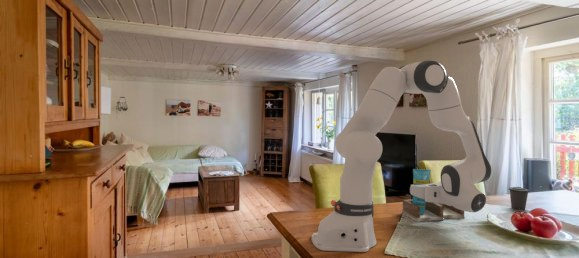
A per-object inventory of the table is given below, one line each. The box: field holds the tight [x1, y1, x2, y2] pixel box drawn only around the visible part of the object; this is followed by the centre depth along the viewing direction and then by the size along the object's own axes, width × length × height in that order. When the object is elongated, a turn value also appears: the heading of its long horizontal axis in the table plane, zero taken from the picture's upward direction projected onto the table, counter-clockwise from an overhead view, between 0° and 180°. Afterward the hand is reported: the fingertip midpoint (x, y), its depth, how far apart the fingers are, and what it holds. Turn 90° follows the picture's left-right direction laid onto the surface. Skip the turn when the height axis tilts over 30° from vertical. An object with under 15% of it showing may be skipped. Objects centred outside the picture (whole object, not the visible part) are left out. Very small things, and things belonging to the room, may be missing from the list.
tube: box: [412, 168, 431, 214], centre depth 140 cm, size 7×5×19 cm, turn 92°
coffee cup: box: [508, 186, 530, 211], centre depth 153 cm, size 8×8×10 cm
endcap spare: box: [435, 203, 465, 219], centre depth 144 cm, size 12×12×6 cm
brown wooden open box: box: [402, 198, 444, 222], centre depth 140 cm, size 12×12×6 cm
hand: (421, 185), depth 141 cm, fingers open, 8 cm apart
